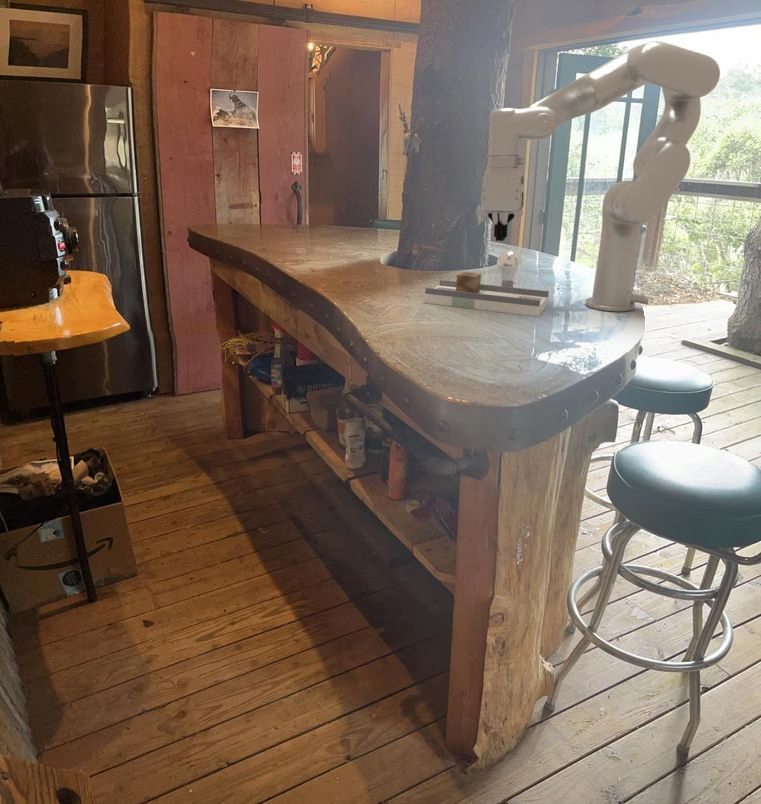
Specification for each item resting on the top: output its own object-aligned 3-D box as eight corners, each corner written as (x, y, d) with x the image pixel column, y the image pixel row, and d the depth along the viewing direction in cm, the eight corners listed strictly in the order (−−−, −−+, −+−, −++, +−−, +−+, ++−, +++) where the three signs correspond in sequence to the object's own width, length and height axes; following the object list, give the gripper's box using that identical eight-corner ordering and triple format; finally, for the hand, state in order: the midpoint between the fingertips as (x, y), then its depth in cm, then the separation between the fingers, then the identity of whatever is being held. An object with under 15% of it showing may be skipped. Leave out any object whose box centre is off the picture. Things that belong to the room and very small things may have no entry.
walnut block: (479, 292, 174) (481, 273, 172) (473, 295, 170) (475, 276, 168) (462, 290, 176) (463, 271, 174) (455, 293, 172) (456, 274, 170)
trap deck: (547, 306, 172) (548, 291, 170) (538, 316, 161) (539, 300, 160) (439, 294, 183) (440, 279, 181) (424, 302, 172) (425, 287, 171)
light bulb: (500, 294, 184) (504, 251, 179) (490, 289, 190) (494, 247, 185) (523, 293, 186) (527, 250, 181) (512, 288, 192) (516, 246, 187)
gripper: (537, 162, 158) (532, 239, 165) (478, 163, 164) (476, 237, 171) (531, 164, 152) (526, 243, 159) (469, 164, 158) (467, 241, 165)
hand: (500, 240), depth 165 cm, fingers closed
